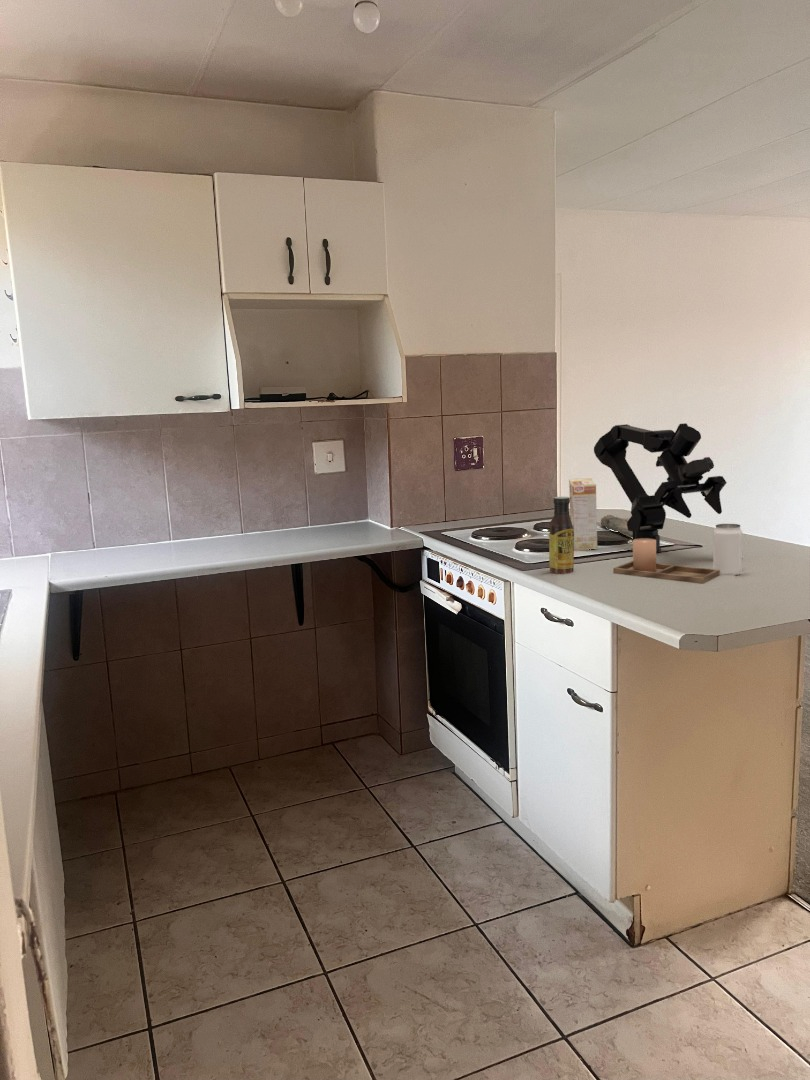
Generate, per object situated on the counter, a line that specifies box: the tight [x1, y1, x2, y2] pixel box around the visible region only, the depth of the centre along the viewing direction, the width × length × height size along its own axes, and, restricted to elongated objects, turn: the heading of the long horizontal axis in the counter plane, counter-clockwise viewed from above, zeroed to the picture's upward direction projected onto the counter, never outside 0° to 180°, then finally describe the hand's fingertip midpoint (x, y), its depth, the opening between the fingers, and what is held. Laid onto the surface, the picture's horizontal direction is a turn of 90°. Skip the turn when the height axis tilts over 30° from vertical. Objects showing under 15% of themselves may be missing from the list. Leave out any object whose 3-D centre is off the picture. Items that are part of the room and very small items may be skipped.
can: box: [712, 523, 743, 577], centre depth 198 cm, size 6×6×12 cm
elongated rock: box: [600, 514, 633, 537], centre depth 258 cm, size 35×5×10 cm
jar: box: [632, 538, 657, 572], centre depth 203 cm, size 6×6×8 cm
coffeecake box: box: [568, 477, 598, 551], centre depth 242 cm, size 15×7×20 cm, turn 172°
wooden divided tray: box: [612, 560, 721, 585], centre depth 200 cm, size 23×10×2 cm, turn 47°
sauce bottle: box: [548, 496, 575, 575], centre depth 208 cm, size 6×6×20 cm
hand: (705, 515), depth 204 cm, fingers open, 9 cm apart
